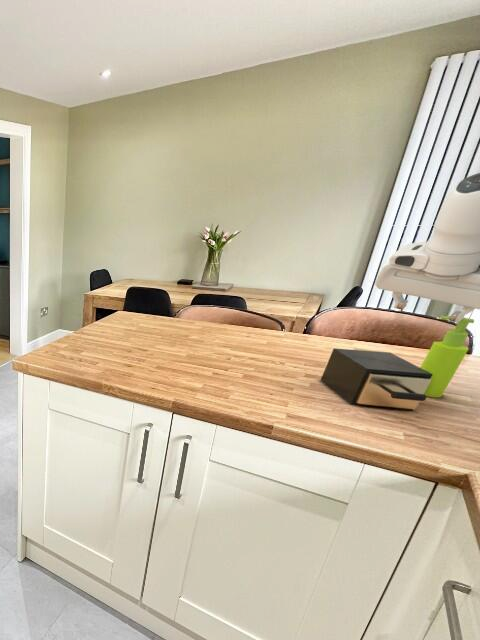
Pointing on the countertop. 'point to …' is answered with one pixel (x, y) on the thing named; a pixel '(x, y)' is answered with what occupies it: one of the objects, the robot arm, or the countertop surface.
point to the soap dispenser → (445, 357)
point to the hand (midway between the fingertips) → (426, 313)
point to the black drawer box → (363, 371)
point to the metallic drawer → (393, 390)
